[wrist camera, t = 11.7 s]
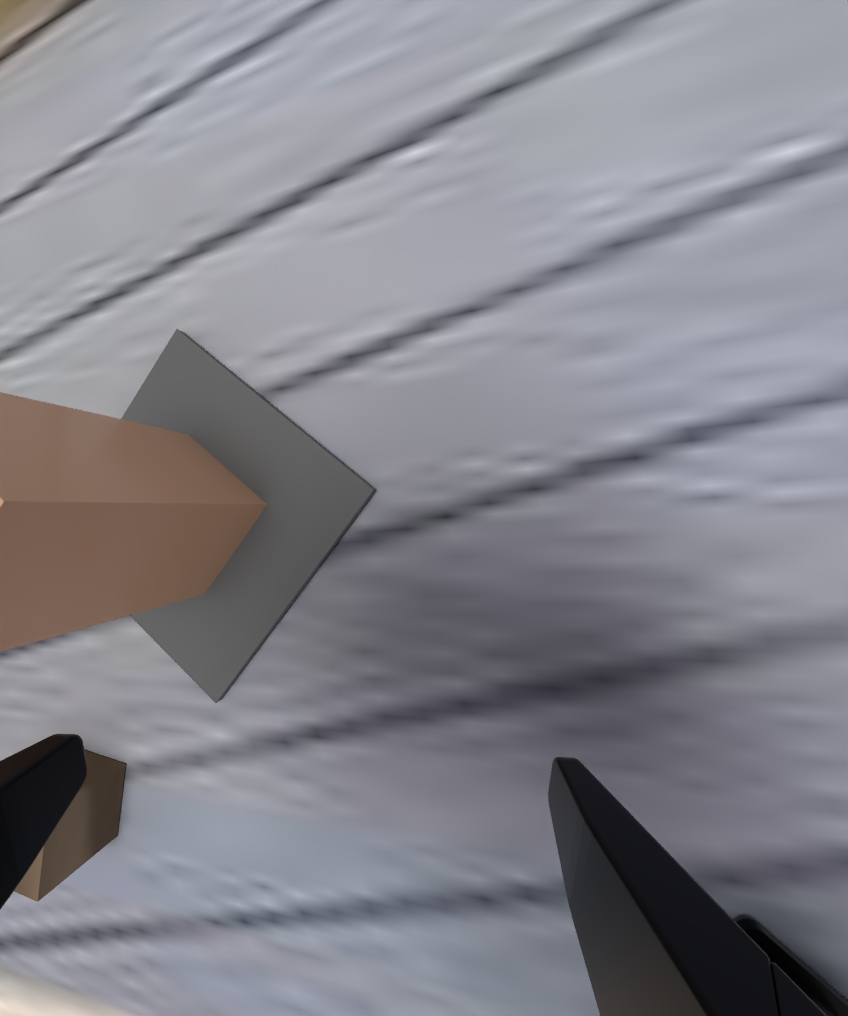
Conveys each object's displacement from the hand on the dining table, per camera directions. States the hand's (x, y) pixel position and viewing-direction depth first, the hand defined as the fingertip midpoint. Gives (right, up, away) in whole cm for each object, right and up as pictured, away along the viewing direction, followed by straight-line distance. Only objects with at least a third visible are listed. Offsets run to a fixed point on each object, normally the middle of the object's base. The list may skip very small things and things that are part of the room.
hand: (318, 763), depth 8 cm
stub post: (-17, -11, +16) cm, 26 cm away
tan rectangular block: (-10, +5, +14) cm, 18 cm away
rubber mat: (-10, +5, +14) cm, 18 cm away
